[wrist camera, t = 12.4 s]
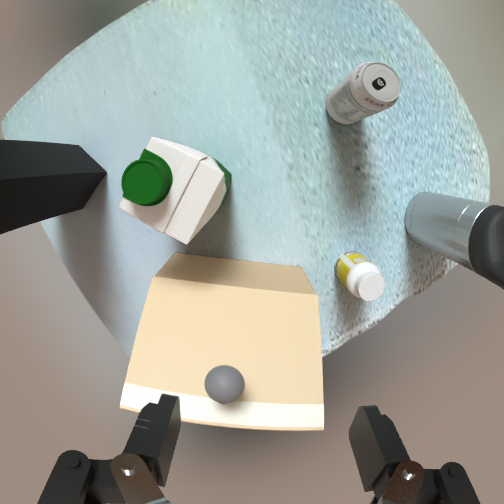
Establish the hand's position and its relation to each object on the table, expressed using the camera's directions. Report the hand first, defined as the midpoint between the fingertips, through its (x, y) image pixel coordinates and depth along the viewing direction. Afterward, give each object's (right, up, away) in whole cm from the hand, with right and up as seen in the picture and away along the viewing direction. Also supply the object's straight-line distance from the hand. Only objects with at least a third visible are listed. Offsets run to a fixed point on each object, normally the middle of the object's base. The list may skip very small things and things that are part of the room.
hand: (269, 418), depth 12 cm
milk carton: (-9, +17, +32) cm, 38 cm away
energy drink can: (+13, +30, +29) cm, 44 cm away
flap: (-3, -3, +18) cm, 19 cm away
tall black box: (-29, +20, +31) cm, 47 cm away
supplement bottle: (+15, +5, +36) cm, 39 cm away
